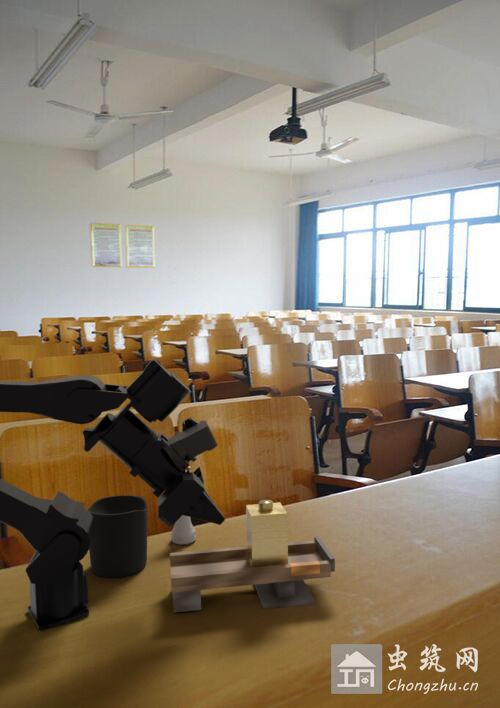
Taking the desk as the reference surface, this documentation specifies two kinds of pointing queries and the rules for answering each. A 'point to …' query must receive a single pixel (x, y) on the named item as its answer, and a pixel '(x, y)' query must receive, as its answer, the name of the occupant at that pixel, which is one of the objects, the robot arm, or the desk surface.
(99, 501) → the pen holder
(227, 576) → the balance beam
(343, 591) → the desk surface
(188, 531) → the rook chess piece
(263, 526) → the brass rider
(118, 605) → the desk surface
